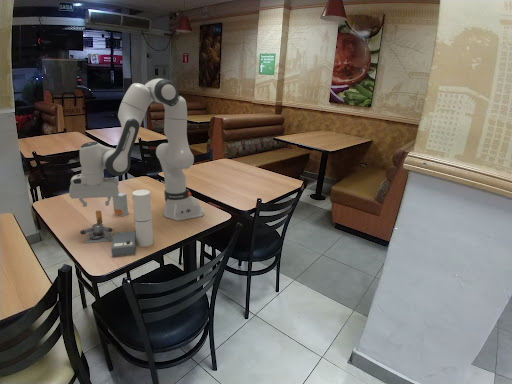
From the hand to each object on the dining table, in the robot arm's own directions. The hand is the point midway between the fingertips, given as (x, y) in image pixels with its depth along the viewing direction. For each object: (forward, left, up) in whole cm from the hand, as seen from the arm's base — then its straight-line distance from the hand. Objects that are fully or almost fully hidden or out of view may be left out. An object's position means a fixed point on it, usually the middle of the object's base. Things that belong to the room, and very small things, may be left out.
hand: (96, 205), depth 143 cm
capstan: (0, +5, -13) cm, 14 cm away
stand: (-6, +13, -13) cm, 20 cm away
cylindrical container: (-21, +16, -14) cm, 30 cm away
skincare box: (-9, -17, -14) cm, 24 cm away
